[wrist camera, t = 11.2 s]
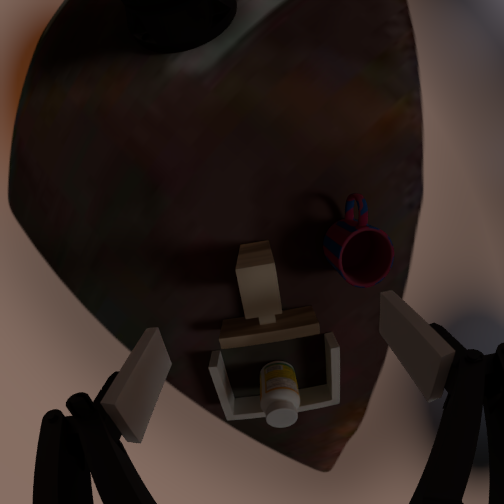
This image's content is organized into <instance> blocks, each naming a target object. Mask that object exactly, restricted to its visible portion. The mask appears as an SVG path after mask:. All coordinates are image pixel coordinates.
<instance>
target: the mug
mask: <svg viewBox="0 0 504 504" xmlns="http://www.w3.org/2000/svg"><path fill="white" fill-rule="evenodd" d="M355 200H356V202H357V204H358V210H359V218H358V220H356V219H354V215H353V207H354V201H355ZM367 221H368V209H367V203H366V201H365V199H364V197H363V196H362V195H361V194H356V193H354V194H350V195H349V196H348V198H347V200H346V206H345V219H342V220H339V221H337V222H336V223H334V224H333V225H332V226H331V227H330V228H329V229H328V231H327V233H326V234H325V237H324V241H323V250H324V254H325V257H326V258H327V260H328V261H329V263H330V264H331V265H332V266H333V267H334V268H335V269H336V270H337V271H338V273H339V274H340V275H341V276H342V277H343V278H344V279H345V280H346V281H347V282H348V283H349V284H351V285H353V286H355V287H360V288H365V287H370V286H373V285H375V284H377V283H379V282H380V281H381V280H383V279H384V278H385V276H386V275H387V274H388V272H389V271H390V269H391V266H392V264H393V260H394V248H393V244H392V242H391V240H390V238H389V237H388V235H387V234H386V233H385V232H383V231H382V230H380V229H378V228H376V227H373V226H371V225H368V224H367Z"/></svg>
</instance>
